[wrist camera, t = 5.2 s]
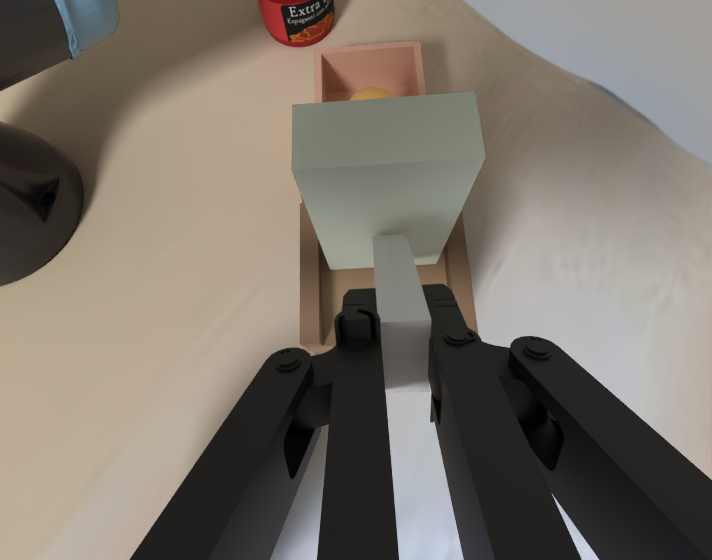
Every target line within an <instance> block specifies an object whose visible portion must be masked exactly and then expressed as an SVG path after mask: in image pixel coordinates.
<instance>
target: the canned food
mask: <svg viewBox="0 0 712 560" xmlns="http://www.w3.org/2000/svg"><path fill="white" fill-rule="evenodd" d="M257 2H258V5H259V8H260V11H261V15H262V18H263V21H264V24H265V26H266V28H267V29H268V31H269V32H270V34H271V35H272V37H273V38H274V39H276V40H277V41H278V42H280V43H282V44H284V45H287V46H292V47H304V46H309V45H312V44H315V43H317V42H319V41H320V40H322V39H323V38H324V37H325V36H326V35H327V34H328V33H329V31H330V30H331V28H332V25H333V20H334V10H335V9H334V0H257Z"/></svg>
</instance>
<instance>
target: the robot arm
mask: <svg viewBox="0 0 712 560" xmlns="http://www.w3.org/2000/svg"><path fill="white" fill-rule="evenodd" d="M118 22H119V8H118V4H117V1H116V0H0V91H2V90H4V89H6V88H8V87H10V86H13V85H15V84H17V83H19V82H21V81H23V80H25V79H27V78H29V77H31V76H33V75H36V74H38V73H40V72H42V71H44V70H46V69H48V68H50V67H52V66H54V65H56V64H59V63H61V62H63V61H65V60H67V59H69V58H70V59H71V60H75V59H77V58H78V57H79V56H80V54H81V52H82V51H84V50H85V49H87V48H89V47H91V46H93V45H94V44H96V43H98V42H100V41H102V40H103V39H105V38H107V37H109V36H110V35H112V34H113V33H114V32H115V30H116V29H117V26H118ZM82 203H83V186H82V181H81V177H80V174H79V172H78V170H77V168H76V166H75V165H74V164H73V162H72V161H71V160H70V159H69V158H68V157H67V156H66V155H64V154H63V153H62V152H60V151H59V150H58V149H56V148H55V147H54V146H52V145H51V144H50V143H48V142H47V141H45V140H44V139H42V138H40V137H38V136H36V135H34V134H32V133H29V132H27V131H24V130H22V129H19V128H16V127H14V126H11V125H8V124H6V123H3V122H1V121H0V286H3V285H6V284H9V283H12V282H15V281H17V280H20V279H22V278H24V277H26V276H28V275H29V274H31V273H33V272H34V271H36V270H37V269H39V268H40V267H42V266H43V265H44V264H45V263H47V262H48V261H49V260H50V259H51V258H52V257H53V256H54V255H55V254H56V253H57V252H58V251H59V250H60V249H61V248H62V246H63V245H64V244H65V243H66V241H67V240H68V238H69V237H70V235H71V233H72V232H73V230H74V228H75V226H76V224H77V221H78V219H79V216H80V212H81V208H82ZM372 243H373V264H374V286H375V288H364V289H349V290H348V291H347V292H346V294H345V295H344V296H343V304H342V311H341V312H340V313H339V314H337V315H336V317H335V319H334V328H335V337H336V345H335V346H334V347H333V348H332V349H330V350H329V351H327V352H325V353H322V354H319V355H315V356H312V357H311V356H310V354H309V353H308V352H307V351H305V350H303V349H300V348H286V349H282V350H279V351H277V352H275V353H274V354H272V355H271V356H270V357H269V358H268V359H267V360H266V361H265V363H264V364H263V366H262V367H261V369H260V370H259V371H258V373H257V374H256V376H255V377H254V379H253V380H252V382H251V383H250V385H249V386H248V388H247V389H246V390H245V392H244V393H243V395H242V396H241V398H240V399H239V401H238V402H237V404H236V405H235V407H234V408H233V409H232V411H231V412H230V414H229V415H228V417H227V418H226V420H225V421H224V423H223V424H222V425H221V427H220V428H219V430H218V431H217V433H216V434H215V436H214V437H213V439H212V440H211V442H210V443H209V444H208V446H207V447H206V449H205V450H204V452H203V453H202V455H201V456H200V458H199V459H198V461H197V462H196V463H195V465H194V466H193V468H192V469H191V471H190V472H189V474H188V475H187V477H186V478H185V479H184V481H183V482H182V484H181V485H180V487H179V488H178V490H177V491H176V493H175V494H174V496H173V497H172V498H171V500H170V501H169V503H168V504H167V506H166V507H165V509H164V510H163V512H162V513H161V515H160V516H159V517H158V519H157V520H156V522H155V523H154V525H153V526H152V528H151V529H150V531H149V532H148V534H147V535H146V536H145V538H144V539H143V541H142V542H141V544H140V545H139V547H138V548H137V550H136V551H135V552H134V554H133V555H132V557H131V558H130V560H270V558H271V555H272V553H273V550H274V548H275V545H276V543H277V540H278V538H279V535H280V533H281V530H282V528H283V525H284V523H285V520H286V517H287V515H288V512H289V510H290V507H291V505H292V502H293V500H294V497H295V495H296V492H297V490H298V487H299V485H300V482H301V480H302V477H303V475H304V472H305V470H306V467H307V465H308V462H309V460H310V457H311V455H312V452H313V450H314V447H315V445H316V442H317V440H318V437H319V435H320V432H321V427H322V426H324V425H327V424H329V431H328V442H327V454H326V465H325V476H324V487H323V498H322V510H321V521H320V532H319V543H318V555H317V560H399V553H398V541H397V528H396V516H395V504H394V492H393V479H392V467H391V455H390V443H389V430H388V418H387V406H386V394H385V393H403V392H429V383H430V387H431V391H432V394H431V416H430V422H434V421H435V426H436V430H437V435H438V440H439V445H440V449H441V454H442V459H443V463H444V468H445V473H446V478H447V482H448V487H449V492H450V496H451V501H452V506H453V511H454V515H455V520H456V525H457V529H458V534H459V539H460V543H461V548H462V553H463V558H464V560H582V559H581V557H580V555H579V553H578V551H577V548H576V546H575V544H574V542H573V540H572V537H571V535H570V533H569V531H568V529H567V527H566V524H565V522H564V520H563V518H562V516H561V513H560V511H559V509H558V507H557V505H556V502H555V500H554V498H553V496H554V497H555V498H556V500H557V501H558V503H559V504H560V505H561V507H562V508H563V509H564V511H565V512H566V514H567V515H568V516H569V518H570V519H571V521H572V522H573V523H574V525H575V526H576V528H577V529H578V530H579V532H580V533H581V535H582V536H583V537H584V539H585V540H586V542H587V543H588V544H589V546H590V547H591V549H592V550H593V551H594V553H595V554H596V556H597V557H598V558H599V560H712V480H711V479H710V478H709V477H708V476H706V475H705V474H704V473H703V472H702V471H701V470H700V469H698V468H697V467H696V466H695V465H694V464H693V463H691V462H690V461H689V460H688V459H687V458H686V457H685V456H683V455H682V454H681V453H680V452H679V451H678V450H677V449H675V448H674V447H673V446H672V445H671V444H670V443H669V442H667V441H666V440H665V439H664V438H663V437H662V436H661V435H659V434H658V433H657V432H656V431H655V430H654V429H652V428H651V427H650V426H649V425H648V424H647V423H646V422H644V421H643V420H642V419H641V418H640V417H639V416H638V415H636V414H635V413H634V412H633V411H632V410H631V409H630V408H628V407H627V406H626V405H625V404H624V403H623V402H621V401H620V400H619V399H618V398H617V397H616V396H615V395H613V394H612V393H611V392H610V391H609V390H608V389H607V388H605V387H604V386H603V385H602V384H601V383H600V382H599V381H597V380H596V379H595V378H594V377H593V376H592V375H591V374H589V373H588V372H587V371H586V370H585V369H584V368H582V367H581V366H580V365H579V364H578V363H577V362H576V361H574V360H573V359H572V358H571V357H570V356H569V355H568V354H566V353H565V352H564V351H563V350H562V349H561V348H560V347H558V346H557V345H555V344H554V343H552V342H551V341H549V340H546V339H543V338H540V337H534V336H524V337H520V338H517V339H515V340H514V341H513V342H512V343H511V346H510V348H507V347H501V346H495V345H491V344H487V343H485V342H482V341H481V339H480V337H479V336H478V334H477V333H476V332H475V331H473V330H471V329H470V328H468V327H467V325H466V322H465V320H464V318H463V315H462V313H461V311H460V308H459V306H458V304H457V301H456V300H455V297H454V294H453V292H452V290H451V289H449V288H448V287H447V286H446V285H444V284H425V285H421V283H420V279H419V276H418V272H417V269H416V266H415V262H414V259H413V255H412V252H411V249H410V245H409V242H408V238H407V235H406V234H399V235H381V236H372ZM550 491H551V492H550ZM551 493H552V494H553V496H552V494H551Z"/></svg>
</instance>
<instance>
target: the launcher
mask: <svg viewBox="0 0 712 560" xmlns="http://www.w3.org/2000/svg"><path fill="white" fill-rule="evenodd" d="M301 197H302V196H301ZM302 202H303V203H300V344H301V345H302V346H304V347H306V348H307V349H309V350H311V351H312V352H314V353H316V354H317V355H319V354H322V353H325V352H327V351H329V350H330V349H332V348H333V347H334V346H335V345H336V337H335V328H334V319H335V317H336V315H337V314H339V313H340V312H341V311H342V304H343V296H344V295H345V294H346V292H347V291H348V290H349V289H364V288H375V286H374V268H356V269H338V270H330V268H329V265H328V263H327V260H326V257H325V255H324V252H323V250H322V247H321V245H320V242H319V239H318V237H317V234H316V232H315V229H314V226H313V224H312V221H311V219H310V216H309V214H308V211H307V208H306V206H305V203H304V201H303V198H302ZM415 266H416V269H417V272H418V276H419V279H420V283H421V285H425V284H444V285H446V286H447V287H448V288H449V289H451V290H452V292H453V294H454V297H455V300H456V301H457V304H458V306H459V308H460V311H461V313H462V315H463V318H464V320H465V322H466V325H467V327H468V328H470V329H471V330H473V331H475V332H476V333H477V334H478V329H477V322H476V314H475V307H474V300H473V292H472V285H471V278H470V270H469V263H468V255H467V248H466V241H465V233H464V226H463V219H462V211H461V212H460V214H459V216H458V218H457V220H456V223H455V225H454V227H453V229H452V231H451V233H450V235H449V238H448V240H447V242H446V244H445V246H444V248H443V250H442V252H441V255H440V257H439V259H438V261H437V263H436V264H427V265H415Z"/></svg>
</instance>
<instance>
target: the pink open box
mask: <svg viewBox="0 0 712 560" xmlns="http://www.w3.org/2000/svg"><path fill="white" fill-rule="evenodd" d="M314 64H315V103H323V102H336V101H349V100H350V98H351V97H352V96H353V95H354V94H355V93H356V92H358V91H359V90H361V89H363V88H366V87H380V88H383V89H385V90H387V91H388V92H390V93H391V94H392V95H393V96H394V97H403V96H417V95H426V87H425V79H424V70H423V62H422V53H421V45H420V40H417V41H405V42H393V43H380V44H368V45H355V46H343V47H331V48H318V49H314Z"/></svg>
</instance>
